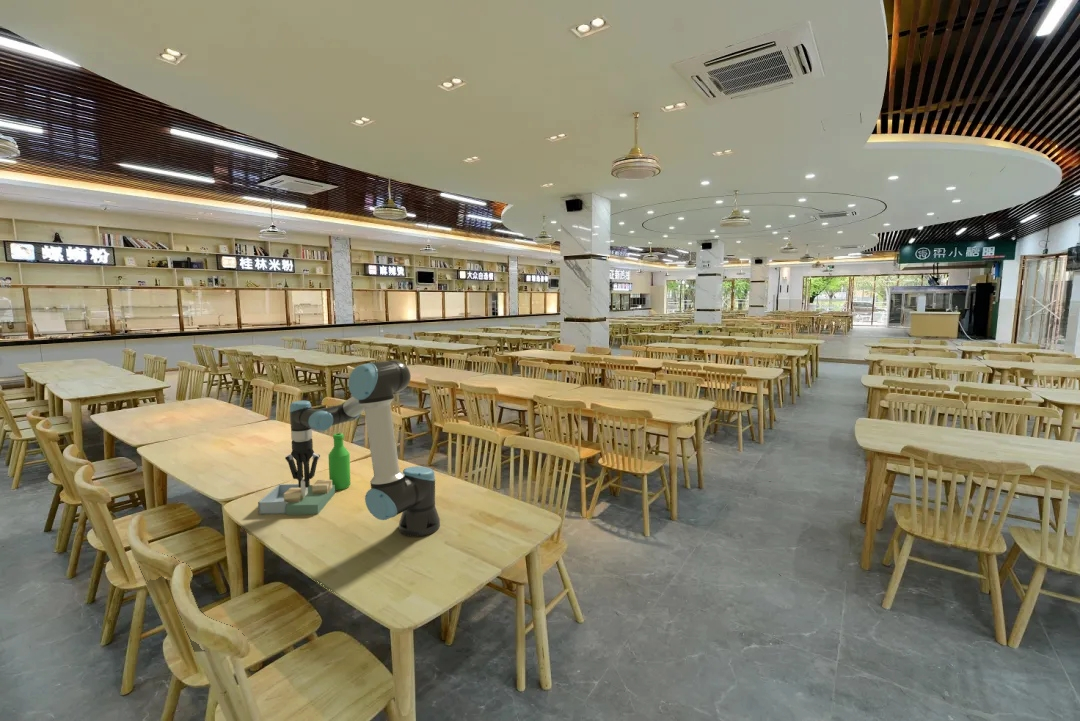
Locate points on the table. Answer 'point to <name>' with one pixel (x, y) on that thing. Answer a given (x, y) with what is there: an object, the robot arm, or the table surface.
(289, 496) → the tile
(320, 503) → the board
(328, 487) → the wooden block stack
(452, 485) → the table surface
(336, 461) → the bottle
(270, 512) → the tray
